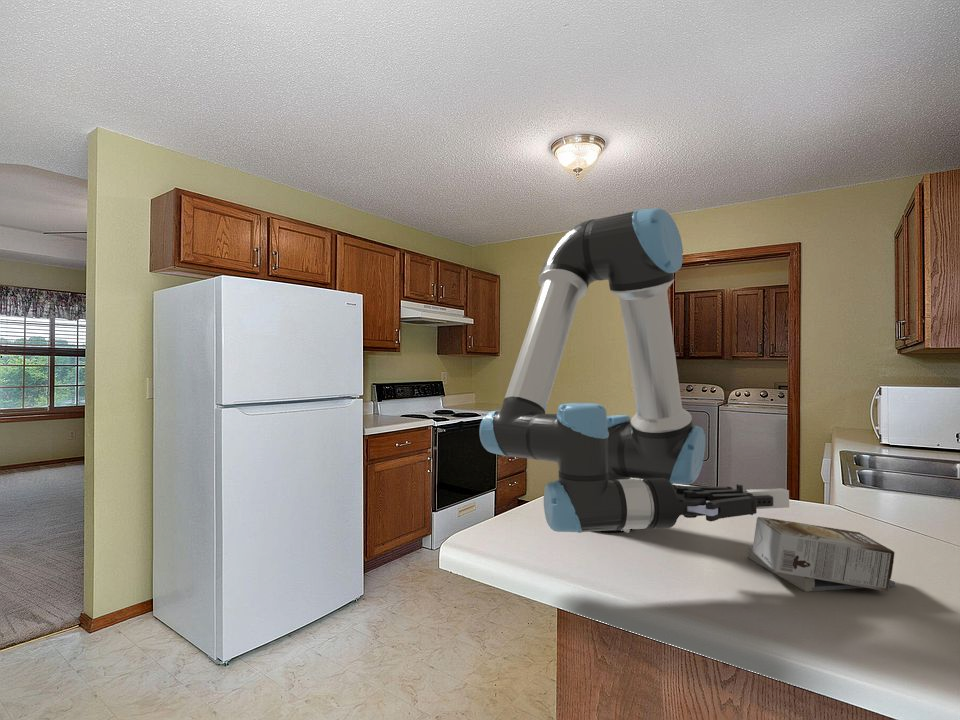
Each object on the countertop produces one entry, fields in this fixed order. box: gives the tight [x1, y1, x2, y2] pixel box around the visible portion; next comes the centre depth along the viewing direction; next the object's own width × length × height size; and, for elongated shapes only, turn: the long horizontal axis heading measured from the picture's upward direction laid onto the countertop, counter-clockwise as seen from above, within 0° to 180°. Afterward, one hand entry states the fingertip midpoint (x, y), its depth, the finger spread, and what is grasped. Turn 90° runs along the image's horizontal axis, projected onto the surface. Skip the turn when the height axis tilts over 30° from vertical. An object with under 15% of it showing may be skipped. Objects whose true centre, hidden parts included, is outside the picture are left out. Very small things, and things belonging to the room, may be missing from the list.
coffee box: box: [752, 516, 896, 592], centre depth 83 cm, size 9×6×16 cm
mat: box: [747, 545, 896, 593], centre depth 87 cm, size 14×15×2 cm
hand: (785, 497), depth 84 cm, fingers closed
